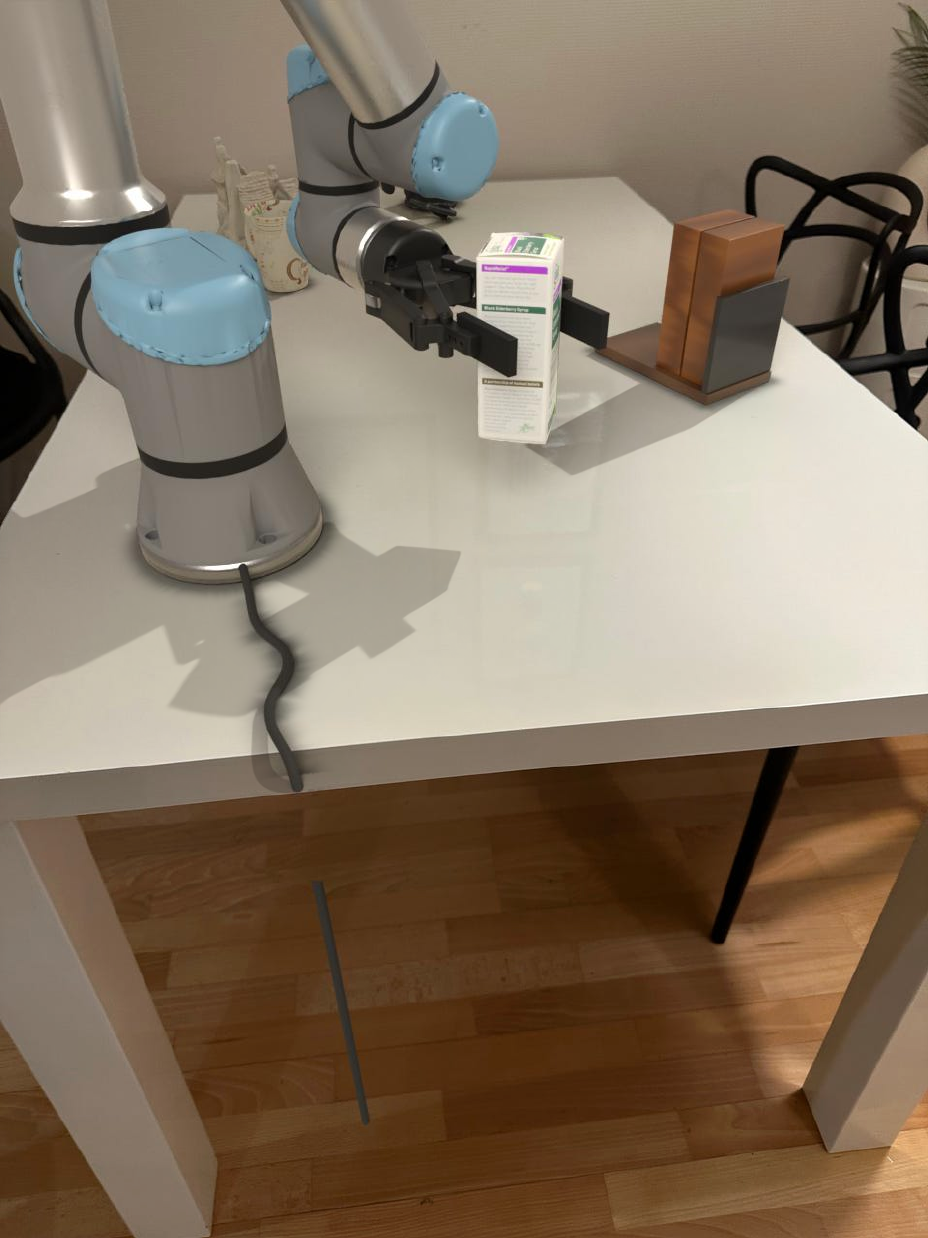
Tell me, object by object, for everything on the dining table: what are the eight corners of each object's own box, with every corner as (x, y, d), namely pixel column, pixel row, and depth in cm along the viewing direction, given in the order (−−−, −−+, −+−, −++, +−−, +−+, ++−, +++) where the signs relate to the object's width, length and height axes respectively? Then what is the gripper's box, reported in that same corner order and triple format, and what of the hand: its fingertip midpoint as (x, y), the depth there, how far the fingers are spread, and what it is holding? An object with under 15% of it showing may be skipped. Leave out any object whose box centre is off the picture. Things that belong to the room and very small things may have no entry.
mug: (281, 300, 120) (270, 221, 113) (225, 279, 126) (212, 204, 120) (328, 283, 124) (320, 207, 118) (272, 264, 131) (261, 191, 125)
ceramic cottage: (229, 262, 131) (216, 147, 122) (207, 236, 143) (193, 130, 134) (332, 254, 137) (325, 144, 128) (302, 230, 149) (295, 127, 140)
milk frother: (434, 193, 160) (431, 98, 150) (496, 210, 151) (496, 111, 141) (372, 209, 152) (364, 111, 143) (432, 229, 143) (428, 125, 134)
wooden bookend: (769, 381, 98) (803, 226, 88) (706, 405, 94) (733, 245, 84) (655, 331, 110) (673, 188, 99) (594, 351, 105) (606, 204, 95)
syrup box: (547, 446, 71) (559, 257, 62) (474, 439, 72) (475, 251, 63) (556, 414, 75) (568, 233, 66) (487, 408, 76) (489, 228, 67)
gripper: (489, 283, 87) (656, 360, 72) (296, 330, 77) (442, 429, 63) (490, 200, 82) (669, 265, 67) (285, 239, 73) (440, 324, 58)
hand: (559, 344), depth 65 cm, fingers closed on syrup box, 8 cm apart
